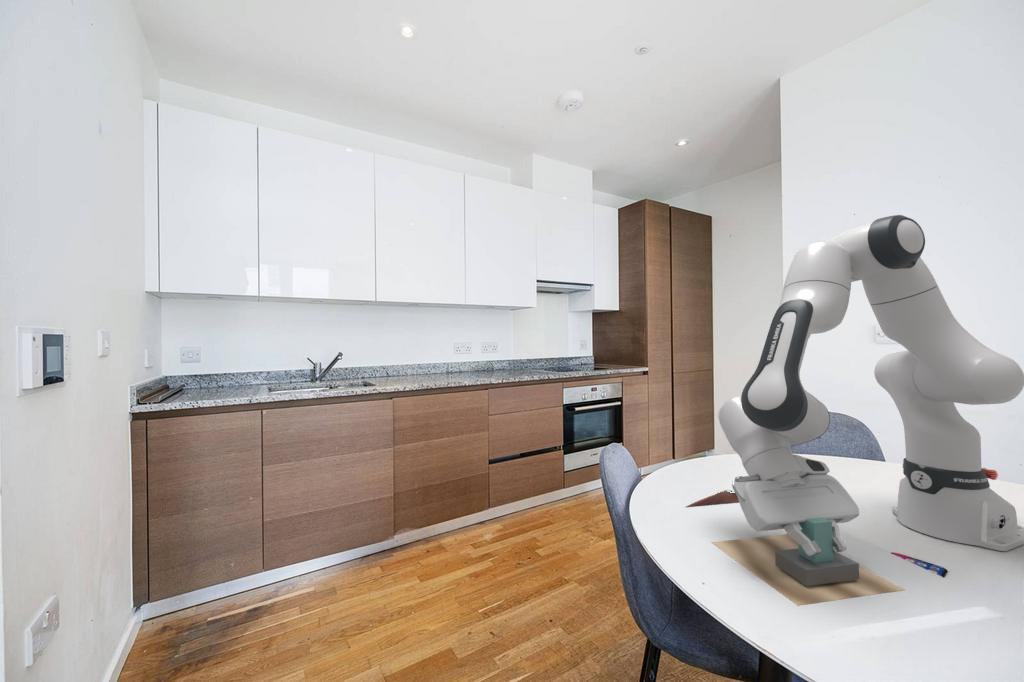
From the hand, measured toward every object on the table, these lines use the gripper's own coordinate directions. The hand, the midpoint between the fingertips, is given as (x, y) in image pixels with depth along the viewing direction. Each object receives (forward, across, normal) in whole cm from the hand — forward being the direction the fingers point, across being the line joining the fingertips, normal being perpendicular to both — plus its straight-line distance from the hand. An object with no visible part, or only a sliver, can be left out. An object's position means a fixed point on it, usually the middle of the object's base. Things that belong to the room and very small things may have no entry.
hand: (827, 552), depth 63 cm
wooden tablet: (-18, +7, +29) cm, 35 cm away
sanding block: (+2, 0, +5) cm, 5 cm away
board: (0, 0, +8) cm, 8 cm away
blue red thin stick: (+4, +18, +6) cm, 20 cm away
